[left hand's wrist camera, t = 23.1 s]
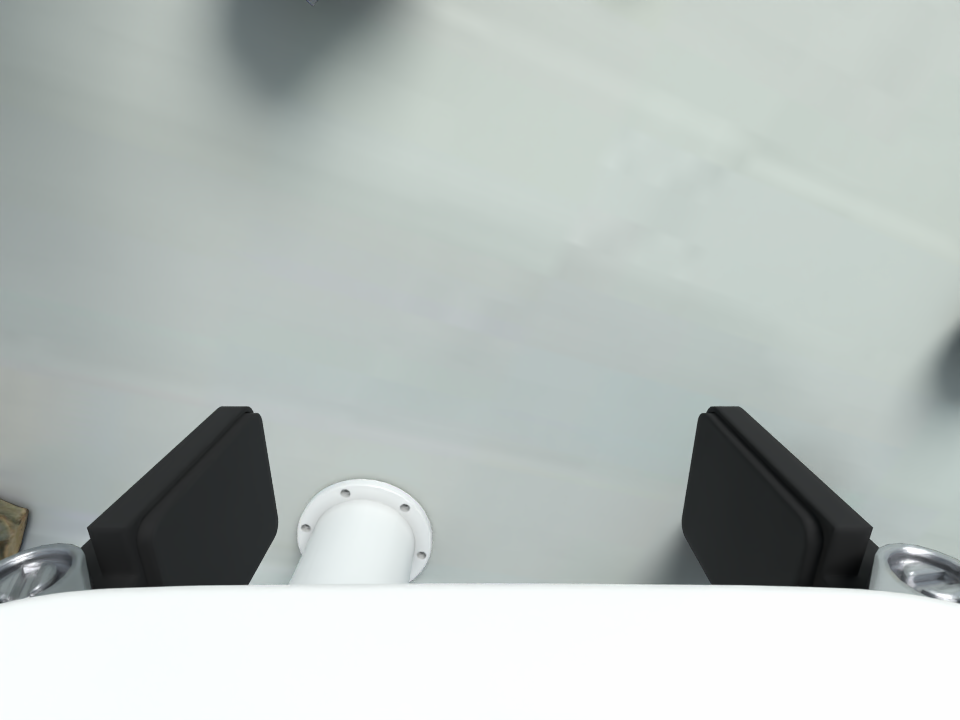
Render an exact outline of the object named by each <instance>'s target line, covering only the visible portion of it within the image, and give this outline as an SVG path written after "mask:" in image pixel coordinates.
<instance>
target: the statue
mask: <svg viewBox="0 0 960 720" xmlns="http://www.w3.org/2000/svg"><path fill="white" fill-rule="evenodd" d="M28 512H29V511H28V509H26V508H22V507H18V506H16V505H13V504H11V503H9V502H6V501H4V500H2V499H0V561H1V560H3V559H5V558H7V557H9V556H12V555H14V554H17V553H18V552H19V549H20V546H21V542H22V538H23V533H24V530H25V527H26V525H27V517H28Z"/></svg>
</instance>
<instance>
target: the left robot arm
mask: <svg viewBox="0 0 960 720" xmlns="http://www.w3.org/2000/svg"><path fill="white" fill-rule="evenodd" d="M87 529H88V532H89V535H90V538H91V539H90V540H89V541H88V542H87V543H85V544H84V545H83V546H82V547H81V548H80V547H77V546H75V545H73V544H62V543H57V544H49V545H42V546H38V547H35V548H31V549H28V550H24V551H21V552H19V553H17V554H14V555H12V556H9V557H7V558H5V559H3V560H1V561H0V720H960V561H959V560H957V559H955V558H953V557H951V556H948V555H946V554H943V553H941V552H938V551H936V550H932V549H929V548H925V547H922V546H918V545H911V544H903V543H898V544H887V545H885V546H883V547H880V548H879V547H878V546H877V545H876V544H875V543H873V542H872V541H871V540H870V539H869V538H870V535H871V532H872V529H873V527H872V526H871V525H870V524H868V523H867V522H866V521H865V520H864V519H863V518H862V517H861V516H860V515H859V514H858V513H856V512H855V511H854V510H853V509H852V508H851V507H850V506H849V505H848V504H847V503H845V502H844V501H843V500H842V499H841V498H840V497H839V496H838V495H837V494H836V493H834V492H833V491H832V490H831V489H830V488H829V487H828V486H827V485H826V484H825V483H823V482H822V481H821V480H820V479H819V478H818V477H817V476H816V475H815V474H814V473H813V472H811V471H810V470H809V469H808V468H807V467H806V466H805V465H804V464H803V463H802V462H800V461H799V460H798V459H797V458H796V457H795V456H794V455H793V454H792V453H791V452H789V451H788V450H787V449H786V448H785V447H784V446H783V445H782V444H781V443H780V442H778V441H777V440H776V439H775V438H774V437H773V436H772V435H771V434H770V433H769V432H768V431H766V430H765V429H764V428H763V427H762V426H761V425H760V424H759V423H758V422H757V421H755V420H754V419H753V418H752V417H751V416H750V415H749V414H748V413H747V412H746V411H744V410H743V409H742V408H741V407H739V406H714V407H710V408H709V409H708V411H707V412H706V413H702V414H700V416H699V418H698V423H697V429H696V435H695V441H694V447H693V453H692V460H691V466H690V472H689V478H688V484H687V490H686V496H685V503H684V509H683V515H682V529H683V533H684V536H685V538H686V540H687V541H688V543H689V545H690V547H691V548H692V550H693V552H694V554H695V556H696V557H697V559H698V561H699V563H700V565H701V566H702V568H703V570H704V572H705V574H706V575H707V577H708V579H709V581H710V583H711V584H712V585H657V584H545V583H430V584H409V582H411V581H412V580H414V579H415V578H416V577H417V576H418V575H419V574H420V573H421V572H422V570H423V569H424V567H425V566H426V564H427V562H428V559H429V557H430V554H431V548H432V529H431V524H430V521H429V519H428V517H427V515H426V513H425V511H424V510H423V509H422V507H421V506H420V504H419V503H418V502H417V501H416V500H415V499H413V498H412V497H411V496H410V495H409V494H407V493H406V492H404V491H403V490H401V489H400V488H397V487H395V486H393V485H390V484H388V483H385V482H381V481H377V480H369V479H353V480H346V481H342V482H338V483H335V484H333V485H331V486H328V487H326V488H324V489H323V490H322V491H320V492H319V493H317V494H316V495H315V496H314V497H313V498H312V499H311V500H310V502H309V503H308V504H307V506H306V508H305V509H304V511H303V513H302V515H301V518H300V520H299V523H298V528H297V542H298V546H299V550H300V553H301V555H302V556H301V558H300V560H299V563H298V565H297V567H296V569H295V571H294V573H293V576H292V578H291V580H290V582H289V584H288V585H248V584H249V583H250V581H251V579H252V577H253V575H254V574H255V572H256V570H257V568H258V566H259V565H260V563H261V561H262V559H263V557H264V556H265V554H266V552H267V550H268V548H269V547H270V545H271V543H272V541H273V540H274V538H275V536H276V533H277V529H278V515H277V509H276V503H275V496H274V490H273V484H272V478H271V472H270V466H269V460H268V453H267V447H266V441H265V435H264V429H263V423H262V418H261V416H260V414H258V413H254V412H253V411H252V409H251V408H250V407H246V406H221V407H219V408H218V409H217V410H216V411H214V412H213V413H212V414H211V415H210V416H209V417H208V418H207V419H206V420H205V421H203V422H202V423H201V424H200V425H199V426H198V427H197V428H196V429H195V430H194V431H192V432H191V433H190V434H189V435H188V436H187V437H186V438H185V439H184V440H183V441H182V442H180V443H179V444H178V445H177V446H176V447H175V448H174V449H173V450H172V451H171V452H169V453H168V454H167V455H166V456H165V457H164V458H163V459H162V460H161V461H160V462H158V463H157V464H156V465H155V466H154V467H153V468H152V469H151V470H150V471H149V472H147V473H146V474H145V475H144V476H143V477H142V478H141V479H140V480H139V481H138V482H137V483H135V484H134V485H133V486H132V487H131V488H130V489H129V490H128V491H127V492H126V493H124V494H123V495H122V496H121V497H120V498H119V499H118V500H117V501H116V502H115V503H113V504H112V505H111V506H110V507H109V508H108V509H107V510H106V511H105V512H104V513H102V514H101V515H100V516H99V517H98V518H97V519H96V520H95V521H94V522H93V523H92V524H90V525H89V526H88V527H87Z"/></svg>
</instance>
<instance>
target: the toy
mask: <svg viewBox="0 0 960 720" xmlns="http://www.w3.org/2000/svg"><path fill="white" fill-rule="evenodd" d="M307 1H308V2H309V3H310V4H311V5H312V6H313V5H314V4H315V3H316V2H317V1H318V0H307Z"/></svg>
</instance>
